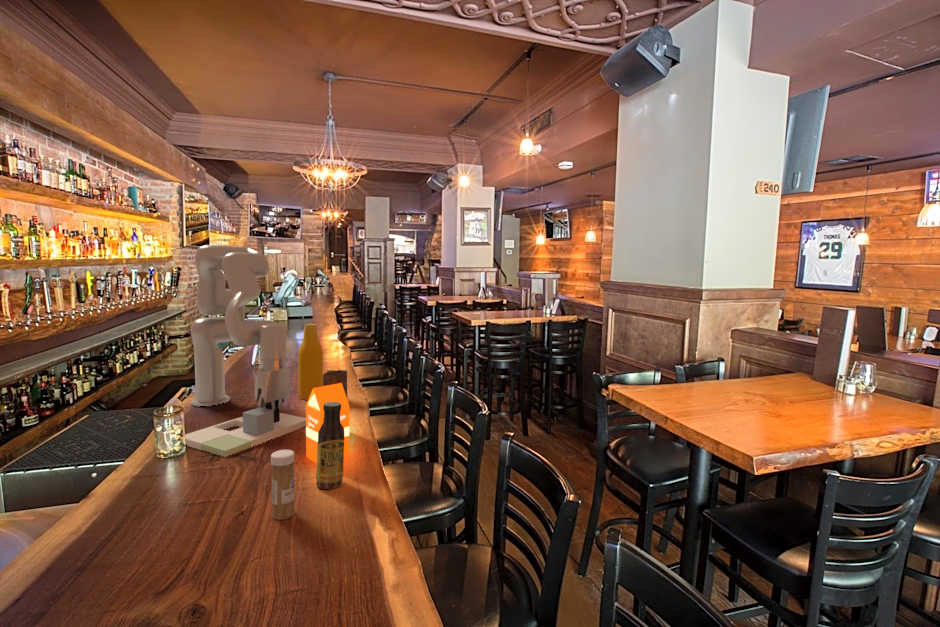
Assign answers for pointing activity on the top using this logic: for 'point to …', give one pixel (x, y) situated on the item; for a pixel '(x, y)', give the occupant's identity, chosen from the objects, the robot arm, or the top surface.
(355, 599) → the top surface
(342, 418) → the orange juice
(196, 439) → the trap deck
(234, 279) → the robot arm
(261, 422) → the block
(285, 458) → the sprinkles bottle
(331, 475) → the sauce bottle
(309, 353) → the beer bottle
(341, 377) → the brown piece
